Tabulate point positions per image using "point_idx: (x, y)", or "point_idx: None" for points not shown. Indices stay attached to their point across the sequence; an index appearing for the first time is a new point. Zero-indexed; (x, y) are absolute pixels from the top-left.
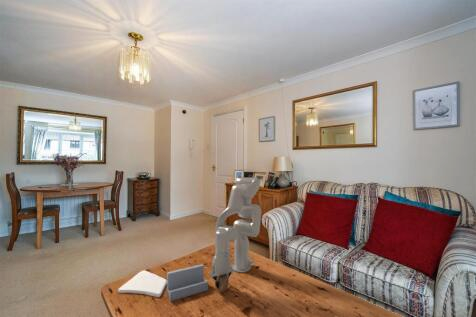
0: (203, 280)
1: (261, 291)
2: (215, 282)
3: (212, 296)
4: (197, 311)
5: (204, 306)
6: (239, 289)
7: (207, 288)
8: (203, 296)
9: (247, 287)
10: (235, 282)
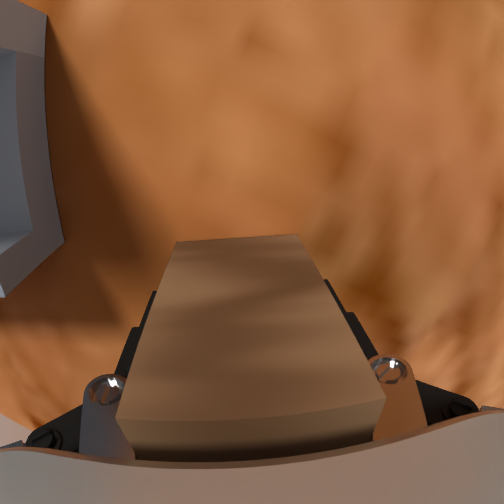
0: (6, 82)
1: (485, 392)
2: (123, 364)
3: (106, 359)
4: (20, 420)
5: (51, 414)
6: (409, 352)
7: (48, 251)
8: (26, 322)
9: (470, 341)
10: (453, 227)
